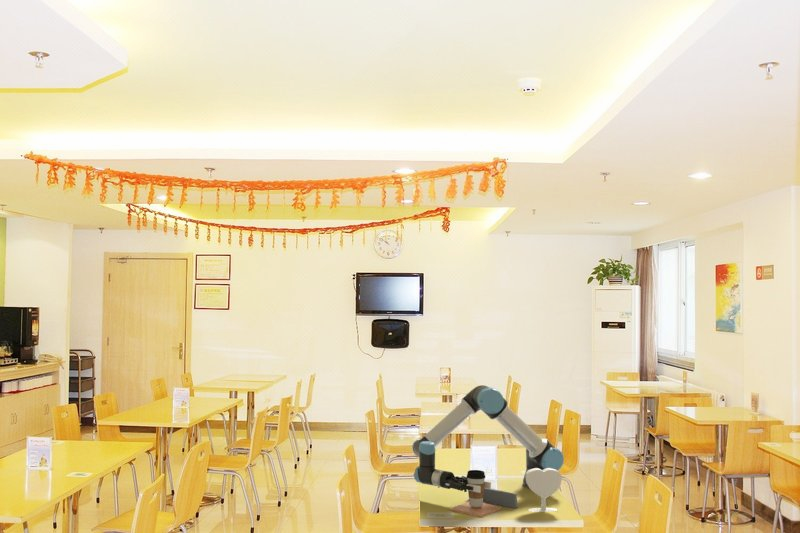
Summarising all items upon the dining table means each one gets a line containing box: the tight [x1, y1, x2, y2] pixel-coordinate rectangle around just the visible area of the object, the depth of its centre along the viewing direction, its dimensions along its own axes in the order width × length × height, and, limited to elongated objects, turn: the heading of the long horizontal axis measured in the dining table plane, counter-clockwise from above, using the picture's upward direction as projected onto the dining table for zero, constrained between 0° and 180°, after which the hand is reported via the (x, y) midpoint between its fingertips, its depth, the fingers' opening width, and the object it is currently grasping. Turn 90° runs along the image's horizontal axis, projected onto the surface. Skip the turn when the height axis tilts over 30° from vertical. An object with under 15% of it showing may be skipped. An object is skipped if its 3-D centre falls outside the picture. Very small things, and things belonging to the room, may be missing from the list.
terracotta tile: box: [450, 500, 502, 518], centre depth 302 cm, size 16×16×1 cm
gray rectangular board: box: [483, 488, 518, 509], centre depth 313 cm, size 2×24×6 cm, turn 50°
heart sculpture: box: [524, 468, 562, 513], centre depth 303 cm, size 16×5×18 cm, turn 93°
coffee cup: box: [466, 469, 486, 507], centre depth 303 cm, size 8×8×15 cm
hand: (485, 487), depth 300 cm, fingers closed on coffee cup, 8 cm apart
